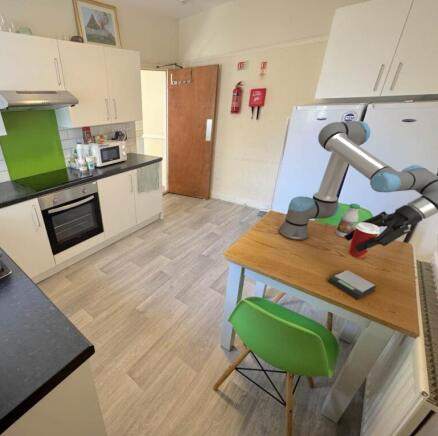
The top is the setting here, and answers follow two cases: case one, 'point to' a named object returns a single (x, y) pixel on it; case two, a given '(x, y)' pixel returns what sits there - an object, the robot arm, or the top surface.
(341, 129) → the robot arm
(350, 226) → the milk bottle
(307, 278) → the top surface
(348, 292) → the scale
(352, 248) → the paper cup
